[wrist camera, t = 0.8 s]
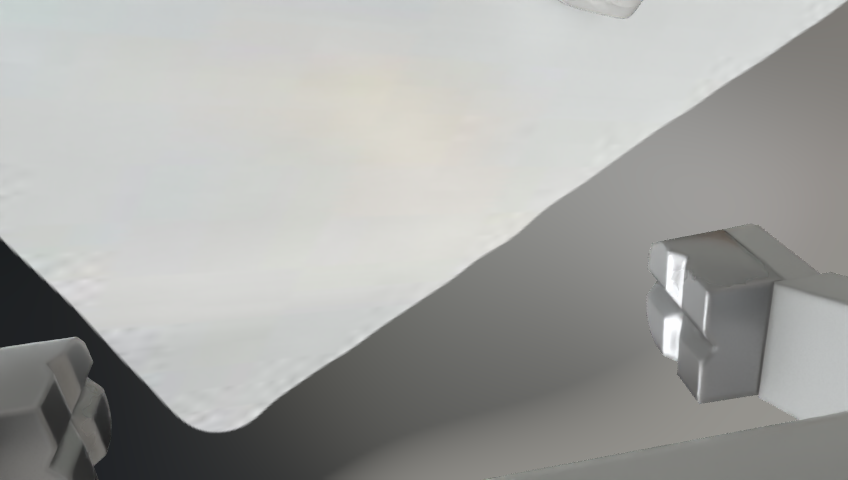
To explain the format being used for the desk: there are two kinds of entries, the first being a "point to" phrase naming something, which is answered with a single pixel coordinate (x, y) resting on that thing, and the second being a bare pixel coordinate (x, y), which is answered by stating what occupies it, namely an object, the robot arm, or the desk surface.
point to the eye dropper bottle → (606, 7)
